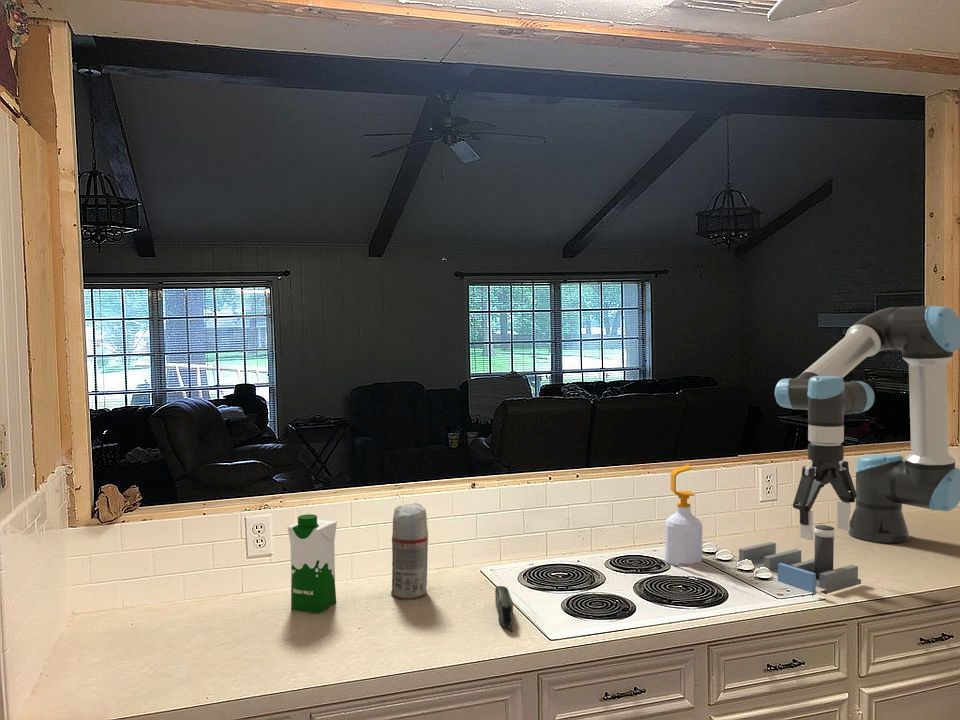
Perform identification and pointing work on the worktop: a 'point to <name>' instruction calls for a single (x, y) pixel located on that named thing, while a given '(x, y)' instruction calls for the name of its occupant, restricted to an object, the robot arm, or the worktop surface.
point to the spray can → (409, 551)
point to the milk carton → (312, 564)
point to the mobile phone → (504, 606)
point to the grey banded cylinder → (823, 549)
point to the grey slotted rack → (800, 566)
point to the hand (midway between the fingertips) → (825, 533)
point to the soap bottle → (682, 529)
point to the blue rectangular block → (797, 577)
